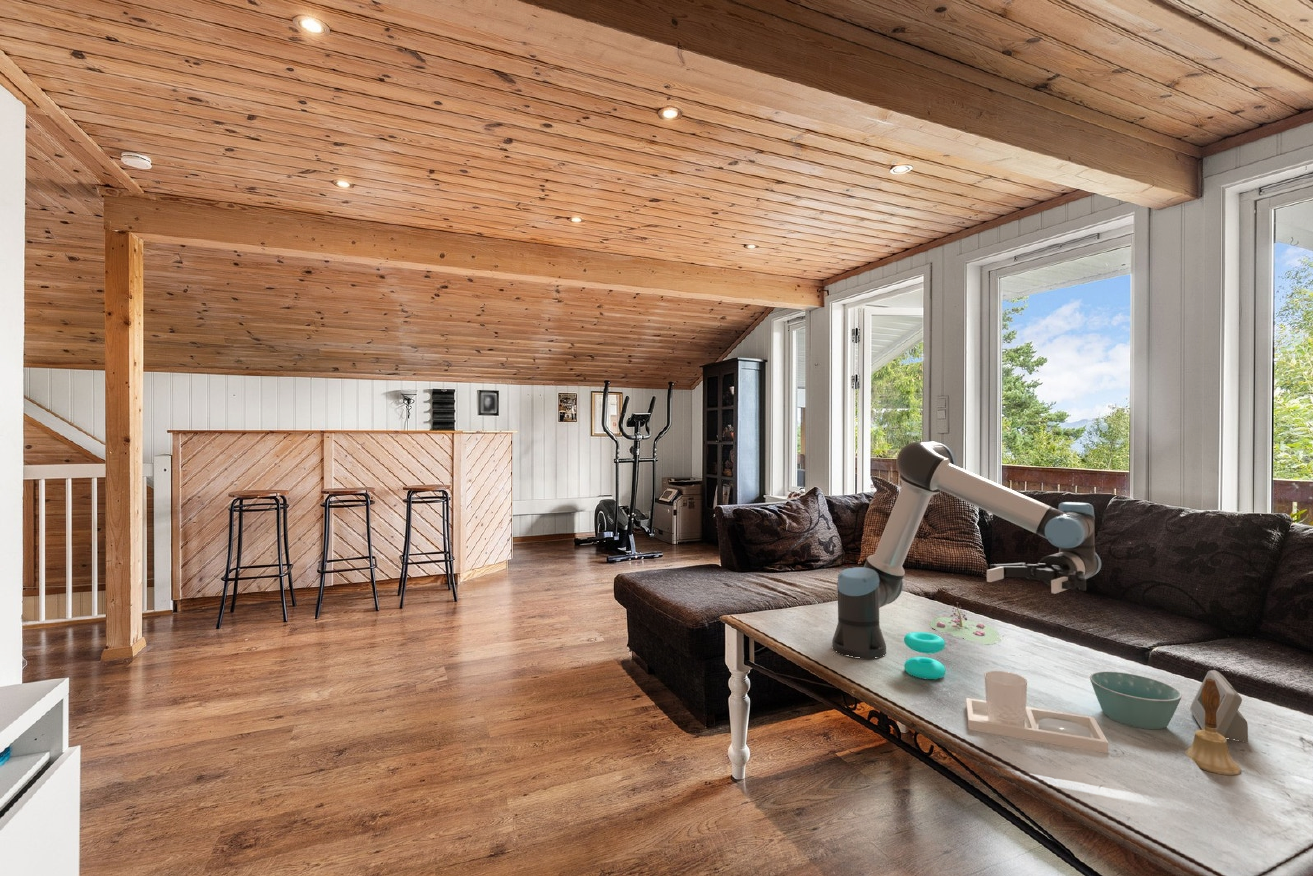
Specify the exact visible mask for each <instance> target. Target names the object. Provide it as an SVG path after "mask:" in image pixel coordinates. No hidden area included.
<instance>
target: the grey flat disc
mask: <svg viewBox="0 0 1313 876" xmlns="http://www.w3.org/2000/svg"><path fill="white" fill-rule="evenodd" d="M1038 729H1040V730H1046V731H1053V732H1059V733H1065V734H1071V735H1077V736H1084V737H1090V738H1091V733H1090V731H1089V730H1088V729H1087V728H1085V727H1083V726H1082V725H1080V724H1077V723H1074V722H1071V721H1068V720H1063V719H1057V718H1045V719H1041V720H1040V721H1039V722H1038Z"/></svg>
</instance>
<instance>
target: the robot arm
mask: <svg viewBox="0 0 1313 876" xmlns="http://www.w3.org/2000/svg"><path fill="white" fill-rule="evenodd" d="M896 466H897V470H898V471H899V473H900V475H899V480H900V482H901V484H902V485H901V488H900V491H899V493H898V496H897V497H896V500H895V503H894V505H893V508H892V510H891V513H890V515H889V517H888V520H887V523H886V524H885V528H884V530H883V532H882V535H881V537H880V540H879V542H878V544H877V547H876V549H875V552H874V554H871V555H868V556H867V558H866V560H865V563H864V565H863V567H862V566H861V567H858V566H856V567H855V566H854V567H849V568H845V569H842V570H841V571H840V572H839V573H838V575H837V583H836V587H837V625H836V628H835V631H834V634H833V637H832V640H831V641H832V643H831V644H832V645H831V646H832V647H833V649H832V650H833V651H834V650H835V651H837V652H838V653H840V654H839V655H841V654H843V655H842V656H844V655H849V656H853V657H860V658H874V659H876V658H875V657H880V656H883V655H885V654H887V644H886V641H885V638H884V635H883V633H882V629H881V626H880V608H882V607H884V606H886V605H890V604H891V603H894V602H895V601H896V600H897V599H898V598H899V597H900V595H901V594H902V592H903V590H904V589H903V588H904V581H903V579H904V577H905V574H906V572H905V569H904V567H903V565H904V562H905V560H906V558H907V555H908V553H909V551H910V548H911V547H912V544H913V541H914V539H915V536H916V534H917V532H918V530H919V528H920V524H921V522H922V520H923V518H924V515H925V513H926V511H927V508H928V505H929V503H930V500H931V498H932V497H933V496H935V495H937V494H939V493H940V491H941V492H944V493H945V494H948V495H951V496H952V497H954V498H957V499H959V500H961V501H963V502H965V503H967V504H970V505H973V506H974V507H977V508H979V509H981V510H984V511H985V512H988V513H990V514H992V515H994V516H997V517H998V518H1001V519H1003V520H1006V521H1008V522H1009V523H1012V524H1015V525H1016V526H1019V527H1020V528H1023V529H1025V530H1027V531H1029V532H1032V533H1034V534H1036V535H1037V536H1040V537H1042V538H1044V539H1046V540H1048V542H1049V543H1050V544H1051V545H1052V546H1054V547H1056V548H1058V552H1057V553H1053V554H1050V555H1046V556H1044V557H1042V558H1041V559H1040V560H1039V561H1038V563H1035V564H1033V563H1027V564H1026V562H1024V561H1023V562H1022V561H1021V562H1014V563H997V564H996V563H994V564H993V563H992V564H989V568H990V569H987V570H986V582H988V583H993V582H997V581H1001V580H1003V579H1004V578H1025V579H1028V580H1038V581H1043V582H1044V583H1045V584H1047V585H1048V586H1049V587H1051V588H1050V591H1051V593H1050V594H1058V593H1060V592H1064V591H1067V590H1072V591H1073V590H1076V588H1078V589H1079V590H1080V591H1082V592H1085V591H1087V580H1088V579H1090V578H1092V577H1093V576H1095V575H1096V574H1097V573H1099V571H1100V570H1101V568H1102V560H1101V558H1100V556H1099V554H1097V553H1098V552H1096V546H1095V519H1096V517H1095V516H1096V515H1095V510H1094V509H1095V508H1094V506H1093V504H1090V503H1088V502H1080V501H1079V502H1075V501H1073V502H1072V501H1065V502H1064V501H1063V502H1060V503H1058V509H1057V508H1055V507H1053V506H1051V505H1048V504H1046V503H1043V502H1041V501H1039V500H1037V499H1034V498H1032V497H1029V496H1027V495H1026V494H1023V493H1020V492H1017V491H1016V490H1013V489H1011V488H1008V487H1006V486H1004V485H1002V484H999V483H997V482H994V481H993V480H990V479H987V478H984V477H982V476H980V475H978V474H975V473H973V472H970V471H968V470H967V469H964V468H962V467H959V466H956V459H955V455H954V453H953V452H952V450H951V449H950V448H949V447H948V446H947V445H946V444H943V443H940V442H937V441H934V440H928V441H912V442H910V443H907V444H906V445H905V446H903V447H902V448H901V449H900V450H899V452H898V454H897V457H896ZM835 651H834V652H835ZM837 652H836V653H837ZM838 653H837V654H838ZM885 656H886V655H885ZM883 657H884V656H883ZM880 658H881V657H880Z"/></svg>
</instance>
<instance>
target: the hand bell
mask: <svg viewBox="0 0 1313 876" xmlns="http://www.w3.org/2000/svg"><path fill="white" fill-rule="evenodd" d="M1201 696H1202V703H1203V706H1204V708H1205V728H1204V729H1203V730H1202V729H1197V730H1196V731H1194V737H1193V741H1192V744H1191V745H1190V747H1189V748H1188V749H1185V754H1186V755H1187V756H1188V757H1189V758H1191V759H1192V760H1193V762H1194V763H1195V764H1196V765H1197V767H1198V768H1199V769H1200V770H1203V771H1206V772H1209V773H1210V772H1211V773H1213V774H1219V775H1225V776H1237V775H1240V774H1241V773H1242V769H1241V767H1240V765H1239V764H1238V763H1236V761H1234V759H1233V758H1232V756H1231V753H1230V751H1229V747H1228V739H1226V738H1225V737H1224V736H1222V735H1220V734H1219V733H1217V722H1216V713H1217V710H1218V707H1219V703H1220V694H1219V691H1218V688H1217V686H1216V683H1215V680H1213V679H1206V681H1205V684H1204V686H1203V688H1202V693H1201Z"/></svg>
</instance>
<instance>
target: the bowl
mask: <svg viewBox="0 0 1313 876" xmlns="http://www.w3.org/2000/svg"><path fill="white" fill-rule="evenodd" d="M1089 679H1090V683H1091V685H1092V688H1093V691H1094V694H1095V697H1096V698H1097V701H1098V703H1099V706H1100V709H1101V710H1102V713H1103V714H1104V715H1105V716H1107V717H1108V718H1109V719H1111V720H1112V721H1115V722H1118V723H1120V724H1123V725H1126V726H1128V727H1129V726H1130V727H1133V728H1138V729H1145V730H1161V729H1165V728H1167V727H1168V726H1169V724H1170V722H1171V720H1172V719H1173V716H1174V715H1175V713H1176V711H1177V708H1178V706H1179V704H1180V701H1181V699H1182V696H1183V695H1182V693H1181V691H1180V690H1178V688H1175V687H1174V686H1172V685H1170V684H1168V683H1165V682H1162V681H1160V680H1157V679H1153V678H1152V677H1150V678H1149V677H1146V676H1142V675H1137V674H1133V673H1127V672H1119V671H1096V672H1093V673H1091V674H1090V676H1089Z"/></svg>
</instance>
